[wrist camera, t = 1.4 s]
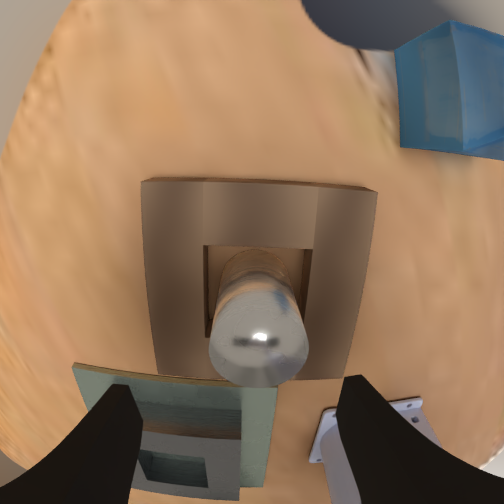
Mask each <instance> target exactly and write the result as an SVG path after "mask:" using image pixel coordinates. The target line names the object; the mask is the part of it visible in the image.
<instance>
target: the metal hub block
mask: <svg viewBox="0 0 504 504" xmlns="http://www.w3.org/2000/svg"><path fill="white" fill-rule="evenodd" d="M72 370H73V373H74V376H75V378H76V381H77V384H78V387H79V389H80V392H81V395H82V397H83V400H84V402H85V405H86V407H87V409H88V412H89V411H90V410H91V408H92V407H93V406H94V405H95V404H96V402H97V401H98V400H99V399H100V398H101V396H102V395H103V394H104V393H105V392H106V390H107V389H108V388H109V387H110V386H111V385H112V384H124V385H129V387H130V390H131V392H132V395H133V397H134V400H135V402H136V405H137V407H138V409H139V412H140V414H141V416H142V419H143V430H142V439H141V447H140V451H139V455H138V459H137V464H136V468H135V472H134V476H133V481H132V485H131V488H134V489H139V490H144V491H149V492H155V493H161V494H168V495H175V496H182V497H191V498H201V499H213V500H232V501H239V490H240V487H263V483H264V477H265V471H266V465H267V459H268V453H269V446H270V440H271V433H272V426H273V420H274V413H275V405H276V398H277V391H278V385H276V386H272V387H267V388H248V387H243V386H239V385H236V384H234V383H232V382H230V381H213V380H198V379H185V378H174V377H164V376H155V375H147V374H139V373H132V372H125V371H118V370H112V369H106V368H100V367H94V366H89V365H84V364H79V363H74V364H73V366H72Z"/></svg>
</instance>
